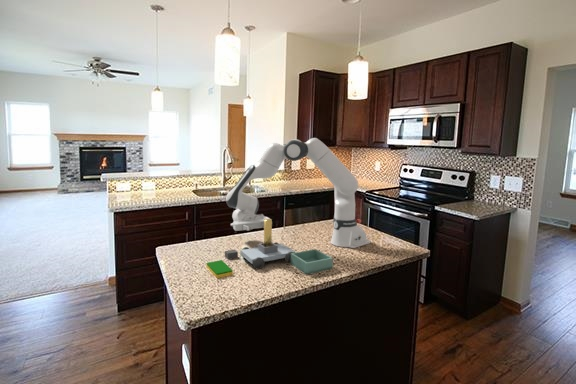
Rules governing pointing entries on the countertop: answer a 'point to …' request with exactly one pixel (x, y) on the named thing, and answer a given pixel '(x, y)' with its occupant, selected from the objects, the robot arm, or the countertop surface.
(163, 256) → the countertop surface
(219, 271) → the dish sponge
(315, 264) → the tray
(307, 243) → the countertop surface
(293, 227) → the countertop surface
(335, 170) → the robot arm
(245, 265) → the countertop surface
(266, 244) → the pin
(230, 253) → the wheel chock
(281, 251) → the trolley
